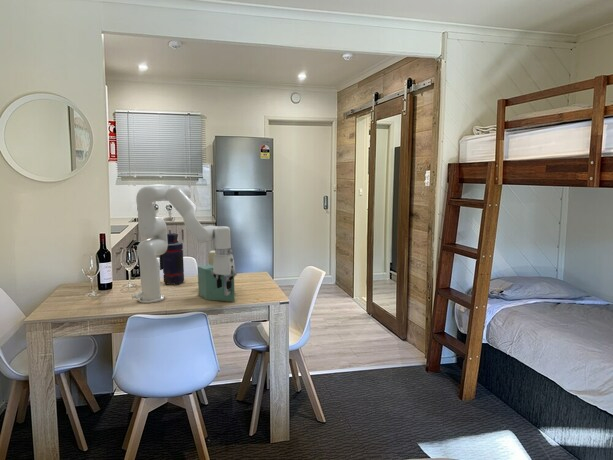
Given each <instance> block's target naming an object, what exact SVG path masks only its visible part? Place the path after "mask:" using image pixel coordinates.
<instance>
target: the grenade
mask: <svg viewBox="0 0 613 460" xmlns="http://www.w3.org/2000/svg"><path fill="white" fill-rule="evenodd" d="M178 238H179V233H175V232H174V233H172V232H169V233H167V240H168V247H167V251H166V252H165V253H164V254H162V255H159V258H158V259H159V269H160V271H162V273H163V277H162V278H163V283H164V285H174V286H178V285H180V283H184V281H185V270H184V269H185V266H184V265H185V264H184V243H182V242H179V240H178Z"/></svg>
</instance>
